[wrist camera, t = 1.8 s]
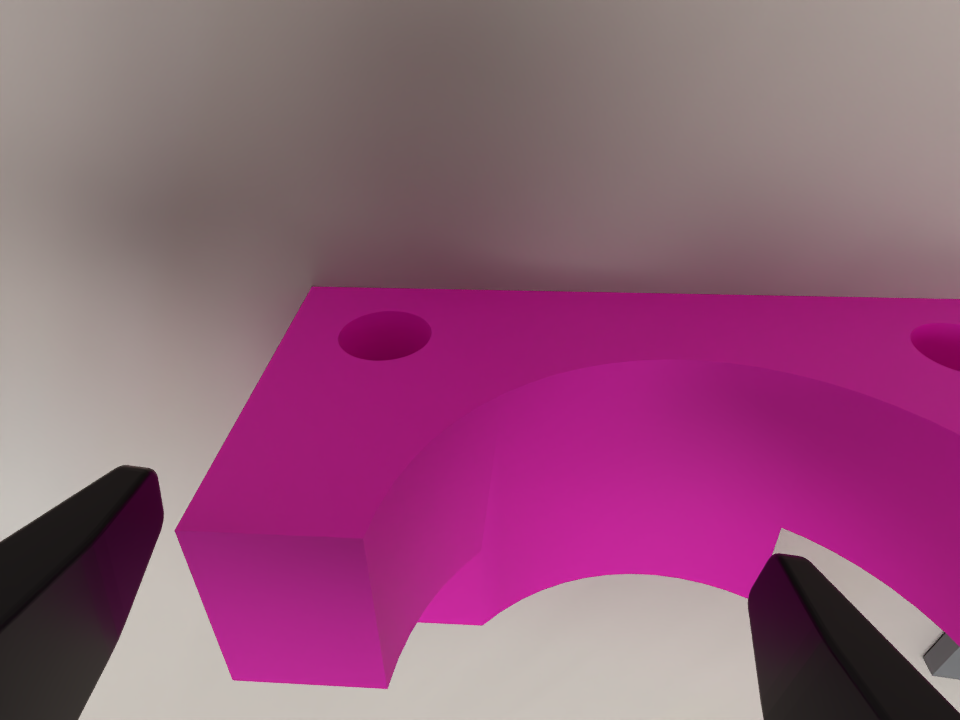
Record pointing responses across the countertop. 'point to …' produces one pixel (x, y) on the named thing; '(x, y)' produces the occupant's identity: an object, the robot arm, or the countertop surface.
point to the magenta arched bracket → (566, 460)
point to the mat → (944, 658)
